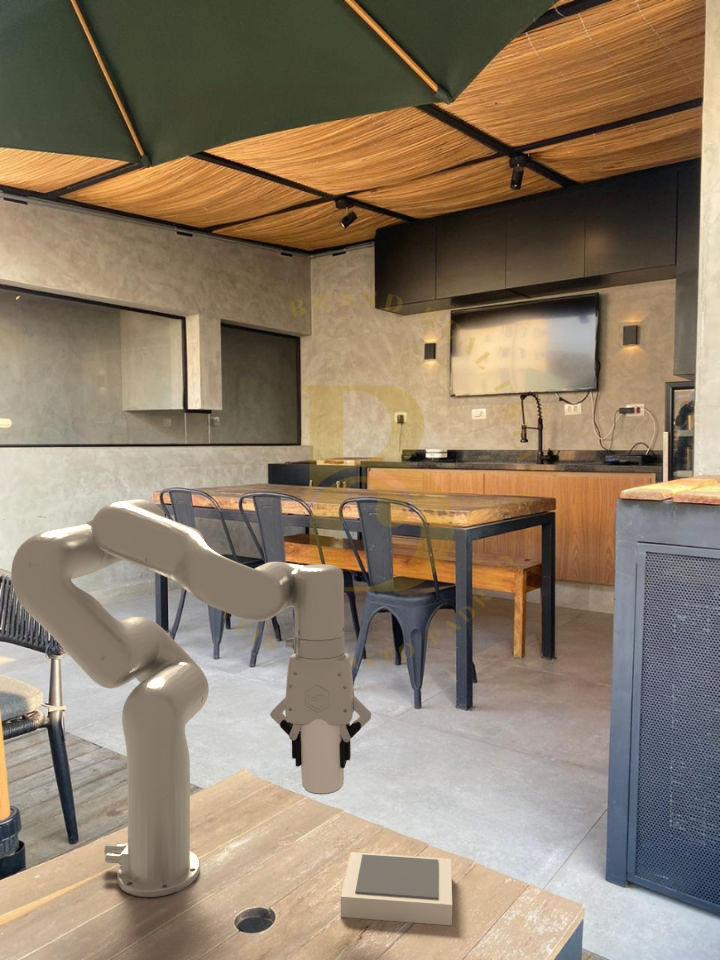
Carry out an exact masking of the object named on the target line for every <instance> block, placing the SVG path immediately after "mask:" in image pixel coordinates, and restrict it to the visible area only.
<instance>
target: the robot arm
mask: <svg viewBox="0 0 720 960" xmlns="http://www.w3.org/2000/svg"><path fill="white" fill-rule="evenodd" d="M94 515H95V516H94V517H93V519H91V520H89V521H86V522H84V523H82V524H78V525H73V526H68V527H62V528H56V529H50V530H47V531H43V532H39V533H37V534H34V535H32V536H30V537H29V538H28V539H26V540H25V541H24V542H23V543H22V544H20V546H19V547H18V549H17V550H16V552H15V554H14V556H13V559H12V563H11V570H10V571H11V573H10V577H11V584H12V590H13V591H14V595H15V596H16V599H17V600H18V603H20V605H21V607H22V608H23V609H24V610H25V612H26V613H28V614H29V615H30V616H31V617H32V618H33V619H34V620H35V621H36V622H37V623H38V624H39V625H40V626H42V628H43V629H44V630H45V631H46V632H47V633H49V634H50V635H51V637H53V639H55V641H56V642H57V643H58V644H59V645H60V647H61V648H62V649H63V650H64V651H65V653H67V654H68V656H70V658H71V659H72V660H73V661H74V662H75V663H76V664H77V665H78V667H80V668H81V670H82V671H83V672H84V673H85V674H86V675H87V676H88V677H89V678H90V679H91V680H92V681H93V682H94V683H96V684H97V685H98V686H99V687H102V688H104V689H117V688H119V687H122V686H124V685H126V684H128V683H130V682H131V681H133V680H134V679H136V680H137V681H138V682H139V684H138V685H136V686H135V687H134V689H133V690H132V691H131V692H130V693H129V695H128V696H127V697H126V699H125V701H124V705H123V706H122V707H123V708H122V712H121V725H122V730H123V736H124V740H125V748H126V749H125V750H126V765H127V766H126V768H127V769H126V770H127V772H126V773H127V775H126V776H127V778H126V779H127V781H126V782H127V841H126V842H125V843H119V842H111V841H107V843H106V844H105V845H104V851H103V852H104V855H105V857H104V862H105V863H108V864H119V868H118V870H117V874H116V875H117V877H116V878H117V885H118V886H119V887H120V889H121V890H122V891H124V892H125V893H127V894H129V895H132V896H136V897H141V898H157V897H164V896H167V895H171V894H174V893H176V892H180V891H181V890H183V889H185V888H186V887H188V886H190V885H191V884H192V883H193V882H194V881H195V880H196V879H197V877H198V875H199V873H200V869H201V862H200V859H199V857H198V855H196V854H195V853H194V852H192V851H191V850H190V848H191V839H190V838H191V824H190V823H191V817H190V816H191V810H190V809H191V808H190V807H191V803H190V802H191V789H190V787H191V761H190V751H189V745H188V743H187V742H188V741H187V738H186V737H187V736H186V725H187V724H188V723H189V722H190V720H191V719H192V718H194V717H195V716H196V715H197V714H198V712H199V711H201V709H203V707H204V706H205V704H206V702H207V700H208V696H209V687H210V686H209V682H208V679H207V677H206V675H205V673H204V672H203V670H202V668H201V667H200V666H199V665H198V664H197V663H196V661H195V660H194V659H193V658H192V657H191V656H190V655H189V654H188V653H187V652H186V651H185V649H183V648H182V646H180V644H178V642H176V641H175V639H174V638H173V637H172V636H171V635H170V634H169V633H168V632H167V631H166V630H165V629H164V628H163V627H162V626H161V625H160V624H158V623H156V622H155V621H154V620H151V619H149V618H147V617H145V616H144V617H143V616H128V617H126V618H123V619H121V620H118V619H116V618H115V617H114V616H113V615H112V614H110V612H109V611H107V610H106V608H105V607H104V606H103V605H102V604H101V603H100V601H98V600H97V599H96V598H95V597H94V596H93V595H91V594H90V593H89V592H86V591H85V590H83V589H82V588H80V587H78V586H77V585H76V584H74V582H72V580H74V579H77V578H81V577H84V576H87V575H90V574H94V573H96V572H98V571H100V570H103V569H105V568H107V567H110V566H113V565H115V564H117V563H119V562H122V561H126V562H128V563H130V564H133V565H135V566H138V567H140V568H144V569H146V570H148V571H150V572H153V573H156V574H158V575H161V576H163V577H165V578H168V579H171V580H173V581H174V582H176V583H177V584H178V585H180V587H182V589H184V590H185V591H187V592H188V593H189V594H190V595H192V596H193V597H195V598H196V599H197V600H199V601H200V602H203V604H205V605H208V606H209V607H212V608H215V609H217V610H219V611H221V612H225V613H227V614H230V615H232V616H234V617H237V618H239V619H243V620H246V621H251V622H265V621H269V620H271V619H273V618H274V617H276V615H278V614H279V613H280V612H282V611H285V610H287V609H289V608H293V609H294V636H293V637H290V638H286V639H285V648H290V649H292V651H293V653H292V655H290V656H289V661H288V665H287V673H286V683H285V684H286V686H285V687H286V688H285V697H284V698H282V700H281V701H280V702H279V703H277V705H275V707H274V708H273V709H272V710H271V711H270V713H269V715H270V717H271V718H272V720H274V721H275V723H276V724H277V725H278V726H279V728H280V729H281V730H282V731H284V732H285V734H286V735H287V736H288V738H289V740H290V741H291V759H292V760H293V759H294V760H295V767H297V768H299V767H300V766H301V725H307V724H309V723H310V722H312V721H313V720H316V719H321V720H323V721H325V722H327V723H328V724H329V725H332V726H340V734H341V736H342V741H341V743H340V767H341V768H344V769H345V767H346V765H347V761H351V751H352V749H351V746H352V745H351V739H353V738H354V736H355V735H356V734H358V732H359V731H360V730H361V729H362V728H363V727H364V726H365V725H366V724H368V723H369V722H370V720H371V719H372V712H371V711H370V710H369V709H368V708H367V706H365V705H364V704H363V703H362V702H361V701H360V700H359V699H358V697H356V696H355V691H354V690H355V688H354V679H353V670H352V665H351V659H350V655H349V654H348V653H347V652H345V651H346V650H345V648H346V647H345V646H346V645H345V599H344V598H345V593H344V591H345V590H344V588H345V583H344V582H345V581H344V580H345V579H344V572H343V570H342V569H341V568H340V567H339V566H337V565H334V564H324V563H321V564H320V563H318V564H307V565H303V564H297V563H296V564H295V563H289V562H283V561H269V562H266V563H264V564H261V565H258V566H257V567H255V568H252V567H250V566H248V565H245V564H242V563H239V562H237V561H235V560H234V559H233V560H232V559H230V558H227V557H225V556H223V555H221V554H219V553H218V552H216V551H215V550H214V549H212V548H211V547H210V546H209V545H208V543H207V542H206V541H205V537H204V535H203V533H202V532H200V531H199V530H197V529H196V528H194V527H191V526H189V525H186V524H183V523H181V522H178V521H175V520H173V519H171V518H168V517H166V515H165V513H164V511H163V509H161V508H160V507H159V506H158V505H157V504H155V503H154V502H152V501H151V500H150V501H149V500H147V499H141V498H140V499H130V500H129V499H128V500H122V501H116V502H115V501H114V502H110V503H108V504H107V505H105V506H104V507H102V508H100V509H99V510H98V511H97V513H95V514H94ZM284 711H285V714H284ZM354 712H355V713H356V714H357V715H358V716H359V717H358V718H356V719H355V720H354V721H353V722H352V720H353V715H354ZM351 722H352V723H351ZM350 723H351V724H350Z"/></svg>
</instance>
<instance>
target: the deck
mask: <svg viewBox="0 0 720 960" xmlns="http://www.w3.org/2000/svg"><path fill="white" fill-rule="evenodd" d="M452 891H453V890H452V858H447V857H446V858H442V857H431V856H430V857H429V856H418V855H417V856H416V855H400V854H399V855H398V854H387V853H386V854H384V853H372V852H355V851H350V854H349V859H348V862H347V866H346V872H345V876H344V881H343V885H342V890H341V895H340V918H350V919H363V920H377V921H387V922H388V921H389V922H402V923H403V922H404V923H415V924H427V925H439V926H441V925H442V926H453V892H452Z"/></svg>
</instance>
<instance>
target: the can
mask: <svg viewBox="0 0 720 960" xmlns="http://www.w3.org/2000/svg"><path fill="white" fill-rule="evenodd" d="M300 731H301V767H300V768H301V769H300V771H301V774H300V775H301V786H302V788H303V789H304V790H305V791H306V792H308V793H309V794H314V795H329V794H334V793H337V792H339V791H340V790H341V789H342V788H343V786H344V783H345V780H344V779H345V775H344V773H345V771H344V770H345V768H341V767H340V743H341V741H342V736H341V734H340V726H332V725H329V724H328V723H327V722H325V721H323V720H321V719H316V720H313V721H312V722H310V723H309V724H307V725H301V730H300Z"/></svg>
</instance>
